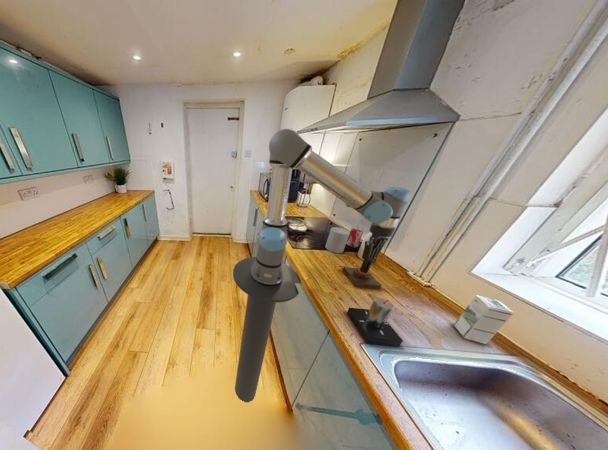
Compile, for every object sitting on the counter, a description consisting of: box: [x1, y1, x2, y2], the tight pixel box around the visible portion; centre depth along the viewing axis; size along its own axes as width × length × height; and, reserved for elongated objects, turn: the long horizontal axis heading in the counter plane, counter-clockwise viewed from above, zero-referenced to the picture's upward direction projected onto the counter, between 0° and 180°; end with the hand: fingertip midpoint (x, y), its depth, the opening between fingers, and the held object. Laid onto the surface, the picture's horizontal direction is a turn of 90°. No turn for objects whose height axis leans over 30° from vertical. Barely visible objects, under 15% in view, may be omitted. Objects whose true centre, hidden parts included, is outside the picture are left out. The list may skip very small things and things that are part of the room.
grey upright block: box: [365, 297, 395, 329], centre depth 66 cm, size 5×5×9 cm
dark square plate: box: [342, 266, 382, 290], centre depth 93 cm, size 12×10×4 cm
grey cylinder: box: [324, 226, 350, 254], centre depth 116 cm, size 10×10×12 cm
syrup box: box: [453, 294, 515, 345], centre depth 65 cm, size 6×6×14 cm
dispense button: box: [357, 269, 368, 276], centre depth 92 cm, size 4×4×2 cm
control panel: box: [346, 307, 404, 348], centre depth 68 cm, size 12×10×3 cm
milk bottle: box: [357, 231, 375, 262], centre depth 106 cm, size 8×8×20 cm
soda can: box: [346, 226, 364, 248], centre depth 120 cm, size 6×6×12 cm
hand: (363, 271), depth 91 cm, fingers closed
